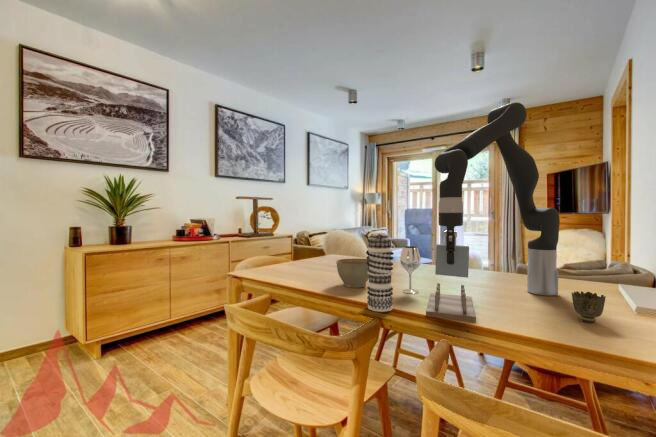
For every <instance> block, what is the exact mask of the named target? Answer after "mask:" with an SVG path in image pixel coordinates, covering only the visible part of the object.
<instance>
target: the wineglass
mask: <svg viewBox="0 0 656 437" xmlns="http://www.w3.org/2000/svg"><path fill="white" fill-rule="evenodd" d="M421 259H422V258H421V255H420V250H419V247H418V246H414V245H413V246H411V245H410V246H409V245H408V246H407V245H405V246H403V247H402V249H401V252H400V257H399V264H400V266H401V267H402V268H403V269H404V270H405V271H407V273H408V276H409V277H408V284H409V285H408V288H405V289H404V288H403V289H402V290H401V291H402V292H403V293H405V294H410V295H411V294H412V295H415V294H416V295H417V294H419V290H417V289H412V274H413V272H415V271H416V270H417V269H418V268H419V267H420V265H421V262H422V260H421Z"/></svg>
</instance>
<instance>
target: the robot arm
mask: <svg viewBox="0 0 656 437" xmlns="http://www.w3.org/2000/svg"><path fill="white" fill-rule="evenodd" d="M526 121H527V109H526V107H525V105H524V104H523V103H521V102H517V101H516V102H510V103H507V104H504V105H502V106H499V107H495V108H494V109H491V110H490V111H489V112H488V115H487V124H486V125H484V126H482V127H480V128H478V129H476V130H474V131H473V132H471V133H470V134H468V135H467V136H466V137H464V138H463V139H461V140H460V141H459V142H458V143H456V144H454V145H453V146H450V147H448V148H447V149H445V150H443V151H442V152H440V153H439V154H438V155H437V156H436V158H435V160H434V168H435V170H436V171H437V173H440V174H447V177H446V178H445V179H444V180H442V181H440V183H439V189H438V190H439V191H438V192H439V194H438V196H439V198H438V200H439V201H438V226H439V227H446V230H445V231H443V237H444V245H446V252H447V264H454V252H455V246H456V245H457V237H458V231H456V230H455V227H462V226H463V225H464V202H463V184H464V180H465V177H466V174H467V169H468V166H469V161H470V160H471V159H473V158H475V157H476V156H477V155H478V154H480V153H481V152H483V150H485V149H486V148H487V147H488V146H490V145H491V144H493V143H496V146H497V148H498V149H499V151H500V152H499V153H500V154H501V157H502V159H503V162H504V164H505V168H506V172H507V175H508V178H509V179H510V182H511V185H512V187H513V190H514V193H515V197H516V199H517V204H518V208H519V213H520V216H521V220H522V221H521V222H522V223H523V226H524V227H525V228H526V229H527V230H528V231H531V232H540V235H539V237H537V238H534V239H531V240H529V241H528V242H527V279H526V280H527V281H526V282H527V292H529V293H531V294H533V295H539V296H549V297H550V296H559V270H558V269H557V263H558V262H557V260H558V259H557V258H558V257H557V252H558V251H557V250H558V243H559V239H560V238H559V237H560V236H559V235H560V234H559V233H560V224H561V219H560V213H559V211H558V210H557V209H556V208H553V207H536V206H537V205H536V204H535V201H534V193H535V190H536V187H537V184H538V181H539V179H540V178H539V177H540V173H539V169H538V166H537V163H536V161H535V159H534V157H533V156H532V154H530V153H529V152H528V151H527V150H525V149H524V148H523V147H522V146H520V145H519V144H518V143H517V142H516V141H515V139H514V138H513V135H512V133H511V132H512V131H514V130H517V129H518V128H520V127H521V126H523V125H524V124H525V122H526ZM448 246H453V248H448Z"/></svg>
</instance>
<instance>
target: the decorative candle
mask: <svg viewBox="0 0 656 437" xmlns="http://www.w3.org/2000/svg"><path fill="white" fill-rule="evenodd" d="M367 239H368V247H367V250H366V252H365V253H366V255H367V256H366V258H365V259H367V260H368V261H367V265H368V266H369V267H367V270H368V274H369V279H368V281H367V284H368V285H367V294H368V295H367V298H366V299H367V302H366V303H367V309H368V310H371V311H373V312H378V313H379V312H390V311H392V310H393V309H394V307H393V304H394V302H393V301H394V298H393V294H394V293H393V289H394V287H393V281H392V275H393V271H392V270H394V268H393V267H392V266H394V262H392V261H393V260H394V259H395V258H394V257H393V256H394V254H395V253H394V252H393V251H392V250H393V248H392V238H391V237H390V235H389V233H382V232H381V233H380V232H379V233H378V232H376V233H371V234H370V235H369V237H367Z"/></svg>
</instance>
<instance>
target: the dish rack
mask: <svg viewBox="0 0 656 437" xmlns="http://www.w3.org/2000/svg"><path fill="white" fill-rule="evenodd" d="M435 289H436V290H435V292H434V293H433V292H430V294H429V297H428V301H427V305H426V309H425V317H431V318H439V319H440V318H441V319H447V320H457V321H458V320H459V321H466V322H473V323H476V322H477V315H476V309H475V306H474V302H473V298H472V296H467V294H466V288H465V285H464V284H461V285H460V295H456V294H447V293H441V283H440V282H437V284H436V288H435Z"/></svg>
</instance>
